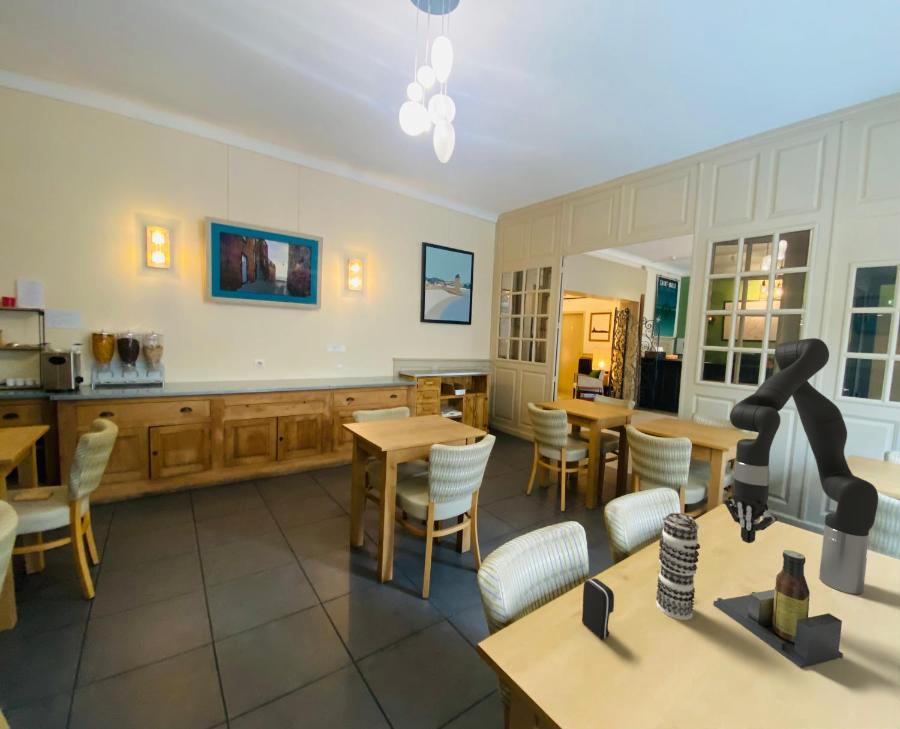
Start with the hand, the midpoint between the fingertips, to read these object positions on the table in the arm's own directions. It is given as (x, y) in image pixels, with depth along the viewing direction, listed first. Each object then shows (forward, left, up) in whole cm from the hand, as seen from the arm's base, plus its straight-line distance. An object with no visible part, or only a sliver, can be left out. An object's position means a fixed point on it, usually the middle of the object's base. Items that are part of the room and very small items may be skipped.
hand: (747, 541), depth 106 cm
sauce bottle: (+3, +13, -16) cm, 21 cm away
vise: (+3, +10, -17) cm, 20 cm away
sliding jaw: (+3, +9, -16) cm, 18 cm away
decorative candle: (+21, -2, -17) cm, 27 cm away
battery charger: (+46, 0, -17) cm, 49 cm away
